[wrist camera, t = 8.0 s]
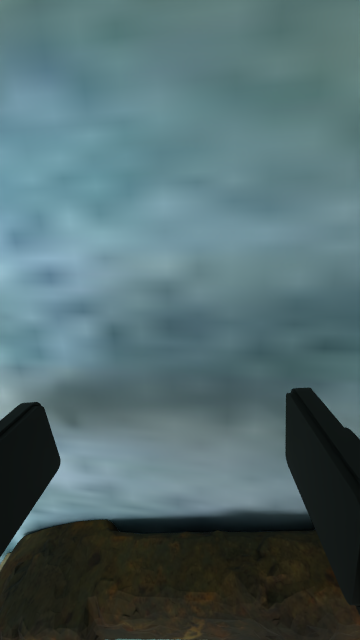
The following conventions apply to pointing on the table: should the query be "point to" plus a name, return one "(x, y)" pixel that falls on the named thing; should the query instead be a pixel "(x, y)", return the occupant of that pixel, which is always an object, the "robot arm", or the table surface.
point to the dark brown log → (171, 586)
